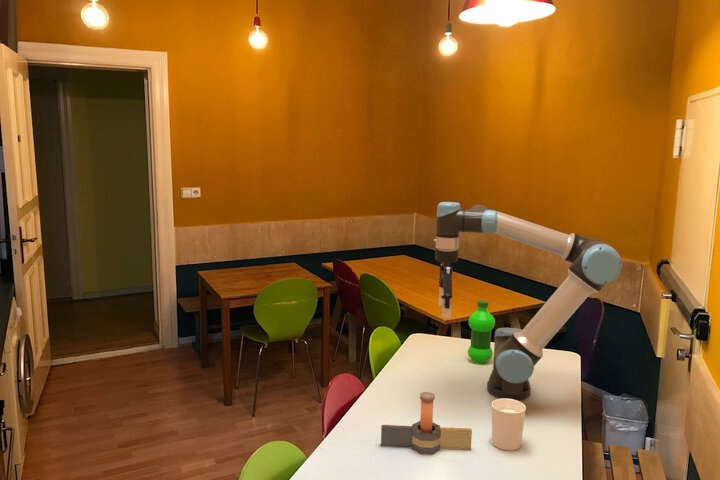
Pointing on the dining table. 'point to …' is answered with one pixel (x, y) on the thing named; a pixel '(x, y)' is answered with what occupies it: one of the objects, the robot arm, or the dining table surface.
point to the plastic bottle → (481, 334)
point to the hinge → (426, 438)
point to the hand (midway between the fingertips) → (444, 311)
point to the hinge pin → (426, 411)
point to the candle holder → (507, 423)
